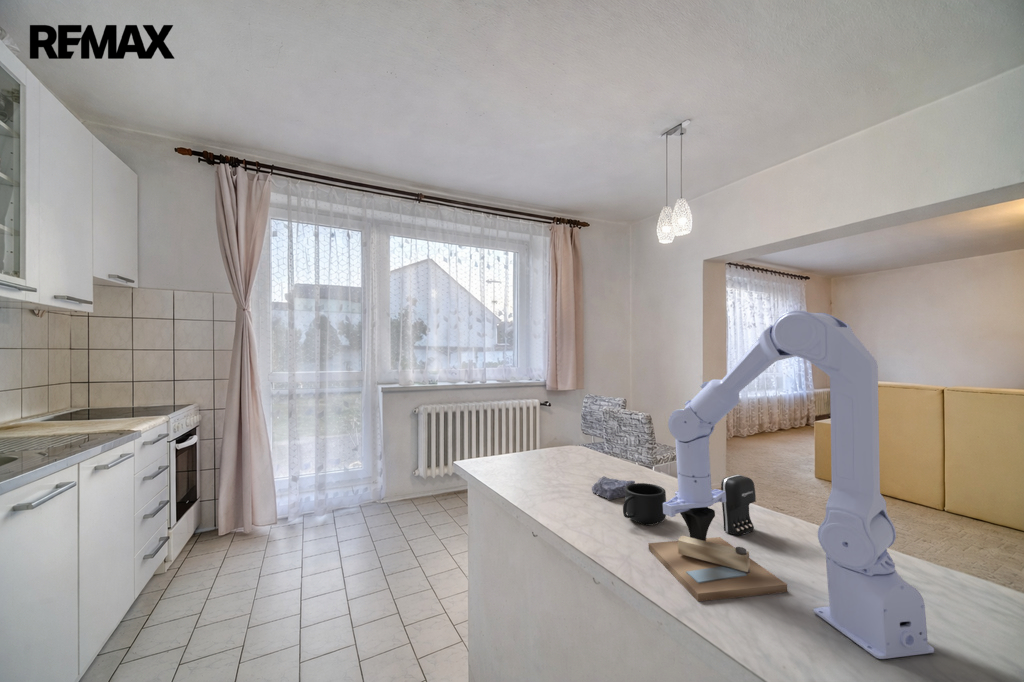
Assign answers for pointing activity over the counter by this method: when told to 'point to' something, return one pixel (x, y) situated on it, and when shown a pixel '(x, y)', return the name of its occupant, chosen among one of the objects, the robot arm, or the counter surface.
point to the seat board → (715, 574)
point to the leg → (714, 553)
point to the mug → (644, 503)
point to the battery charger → (737, 504)
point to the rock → (611, 487)
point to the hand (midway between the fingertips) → (698, 547)
